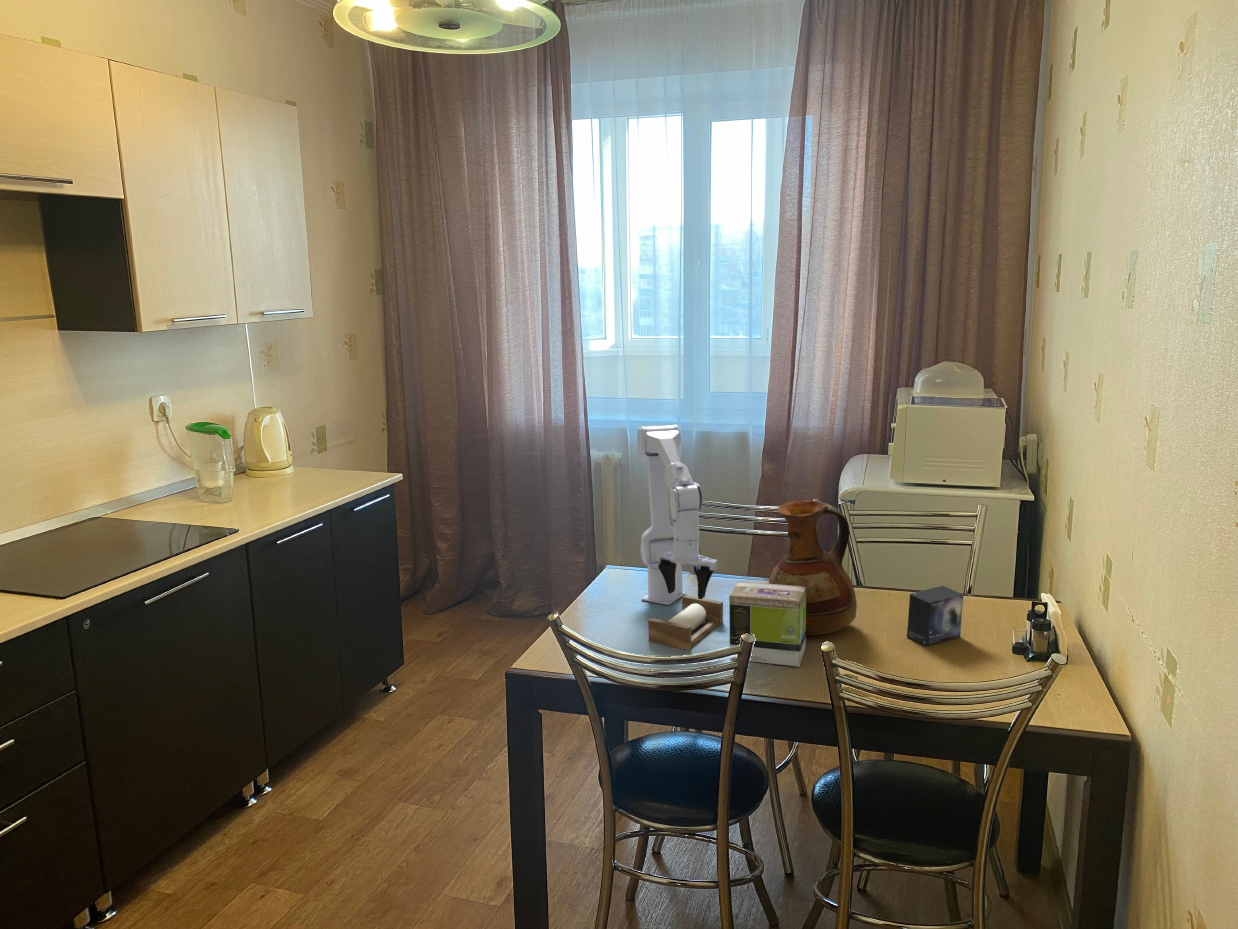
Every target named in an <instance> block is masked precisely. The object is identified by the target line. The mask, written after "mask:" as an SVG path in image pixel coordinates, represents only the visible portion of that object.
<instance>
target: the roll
mask: <svg viewBox="0 0 1238 929" xmlns="http://www.w3.org/2000/svg"><path fill="white" fill-rule="evenodd" d="M705 620H706V611H705V609H704V608H703V607H702V606H701V605H699V604H691V605H690V606H688V607H687V608H686V609H684V610H683V611H682V610H681V611H680V612H678V613H677V614H675V615H674V616H673V617H672V618H670V619H669V620H667V621H668V622H673V623H678V624H683V625H688V626H691V631H692V632H693V631H695V630H696V629H697V628H698V627H699V626H701V625H702V624H703V623H704V622H706V621H705Z"/></svg>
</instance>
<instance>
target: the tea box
mask: <svg viewBox="0 0 1238 929" xmlns="http://www.w3.org/2000/svg"><path fill="white" fill-rule="evenodd" d="M728 601H729V602H728V603H729V606H728V608H729V612H728V613H729V616H728V618H729V620H728V621H729V625H728V626H729V648H730V647H734V646H737V645H739V644H740V638H741V635H743V634H745V633H752V634H754V635H755V638H756V641H755V644H754V647H753V650H752V656H751V661H750V662H752V663H754V662H755V663H763V664H771V665H772V664H773V665H779V666H787V667H789V666H790V667H798V668H800V666H801V663H802V660H803V656H804V655H805V654H804V653H805V650H806V636H807V635H806V587H804V586H792V585H779V584H769V583H763V582H752V581H751V582H750V581H741V580H740V581H739V580H738V582H736V585H735V587H734V588H733V590H732V591H731V593H730V594H729V600H728ZM729 659H730V660H736V657H733V658H730V657H729Z"/></svg>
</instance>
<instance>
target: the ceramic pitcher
mask: <svg viewBox="0 0 1238 929" xmlns="http://www.w3.org/2000/svg"><path fill="white" fill-rule="evenodd" d="M777 513H778V515H780V516H781V517H782V518H783V519H784V520H785V522H786V523H787V537H788V539H789V541H790V544H789V548H788V553H786V554H785V555H784V556H783V557H782V558H781V559H780V560H779V562H777V564H776V565H775V566H774V568H773V570H772V572H771V575H770V576H769V580H768V584H779V585H792V586H804V587H806V636H813V635H814V636H815V635H822V634H829V633H830V634H831V633H834V632H837V631H839V630H842V629H843V628H845V627H847V626H848V625H851V624H852V623H853V621H855V618H856V617H857V616H856V615H857V608H858V606H857V603H858V602H857V596H856V591H855V588H854V585H853V582H852V580H851V578H850V576H849V574H848V573H847V571H846V570H845V568H844V566H843V560H844V556H845V555H846V554H845V553H846V550H847V547H848V544H849V541H850V525H849V522H848V518H847V517H845V515H844V514H843V513H842V511H841V510H839V509H838V508H837V507H835V506H834V505H831V504H830V503H828V502H822V501H819V500H818V501H817V500H810V499H808V500H807V499H803V500H800V501H799V500H793V501H789V502H785V503H783V504H781V505H779V506H778V508H777ZM828 514H829V515H834V516H835V517H836V519H837V523H838V534H837V539H836V542H835V544H834V546H833V548H832V550H830V551H829V552H827V551H825V550H823V549H822V548H821V546H820V543H819V540H818V533H817V524H818V520H819V519H820V517H821V516H823V515H828Z"/></svg>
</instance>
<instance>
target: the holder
mask: <svg viewBox="0 0 1238 929" xmlns="http://www.w3.org/2000/svg"><path fill="white" fill-rule="evenodd" d="M691 604H699V605H701V606H702V607H703V608H704V609H705V611H706V620H705V621H704V622H707V624H705V625H704V626H703V627H702V628H700V629H699V630H698V631H696V632H695V633H694V634H693V635H692V632H693V631H691V626H688V625H683V624H678V623H673V622H668V621H669V620H667V621H666V620H663V619H658V618H653V617H651V618H650V619H648V620H647V621H648V622H647V623H648V625H647V626H648V628H647V629H648V630H647V631H648V642H650V643H655V644H660V645H664V646H669V647H672V648H678V649H682V650H687V651H690V649H691V648H692V647H693V646H694V645H695V644H696V643H698V642H699V641H701V639H702V638H703V637H705V636H707V634H709V633H710V632H711V631H712V630H714V629H715V628H716V627H717V626H718V625H722V623H724V602H723V601H720V600H716V599H715V600H714V599H709V598H705V597H704V598H702V599H698V596H693V595H688V594H684V595H683V596H681V611H683V610H684V609H686V608H687V607H688V606H690V605H691Z"/></svg>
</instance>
